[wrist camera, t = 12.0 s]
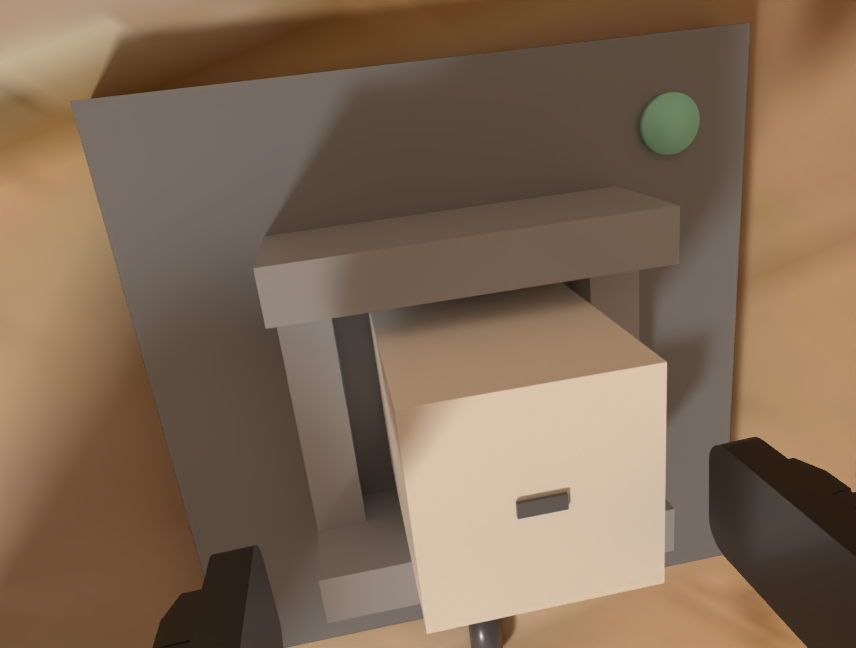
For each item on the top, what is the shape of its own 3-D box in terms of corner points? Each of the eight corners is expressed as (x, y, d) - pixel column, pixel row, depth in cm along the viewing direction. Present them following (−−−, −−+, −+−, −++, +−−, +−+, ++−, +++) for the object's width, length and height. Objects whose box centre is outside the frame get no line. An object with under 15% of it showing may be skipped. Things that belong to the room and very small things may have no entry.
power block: (699, 615, 23) (780, 724, 19) (256, 713, 21) (242, 856, 17) (720, 27, 16) (848, 6, 12) (88, 100, 15) (5, 102, 11)
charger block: (546, 270, 16) (669, 364, 11) (555, 430, 18) (666, 585, 12) (366, 298, 16) (394, 412, 10) (390, 460, 17) (427, 637, 12)
